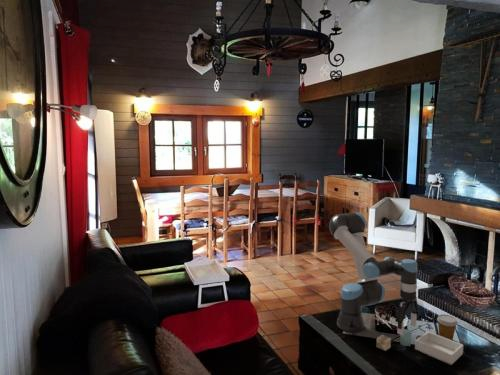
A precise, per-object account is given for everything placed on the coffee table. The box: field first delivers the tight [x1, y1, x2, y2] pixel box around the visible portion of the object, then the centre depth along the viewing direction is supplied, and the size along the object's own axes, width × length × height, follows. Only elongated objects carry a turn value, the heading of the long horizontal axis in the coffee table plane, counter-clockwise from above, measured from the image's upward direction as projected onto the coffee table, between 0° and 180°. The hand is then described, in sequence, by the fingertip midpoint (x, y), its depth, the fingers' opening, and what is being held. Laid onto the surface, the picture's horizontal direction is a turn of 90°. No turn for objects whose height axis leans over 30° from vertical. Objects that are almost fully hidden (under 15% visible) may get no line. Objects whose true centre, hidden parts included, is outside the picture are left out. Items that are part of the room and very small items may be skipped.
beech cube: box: [375, 334, 392, 352], centre depth 197 cm, size 5×5×5 cm
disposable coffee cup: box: [436, 314, 458, 341], centre depth 203 cm, size 10×10×12 cm
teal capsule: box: [399, 328, 412, 347], centre depth 200 cm, size 5×5×7 cm
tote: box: [414, 330, 464, 366], centre depth 193 cm, size 18×14×5 cm
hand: (406, 329), depth 199 cm, fingers open, 13 cm apart
